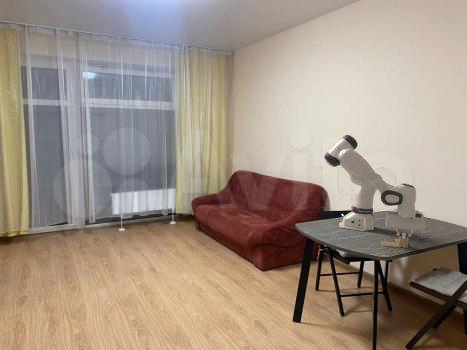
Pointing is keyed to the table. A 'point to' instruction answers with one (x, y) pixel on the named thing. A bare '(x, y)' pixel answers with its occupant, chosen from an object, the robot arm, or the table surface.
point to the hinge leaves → (397, 243)
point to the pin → (403, 235)
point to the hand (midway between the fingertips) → (403, 236)
